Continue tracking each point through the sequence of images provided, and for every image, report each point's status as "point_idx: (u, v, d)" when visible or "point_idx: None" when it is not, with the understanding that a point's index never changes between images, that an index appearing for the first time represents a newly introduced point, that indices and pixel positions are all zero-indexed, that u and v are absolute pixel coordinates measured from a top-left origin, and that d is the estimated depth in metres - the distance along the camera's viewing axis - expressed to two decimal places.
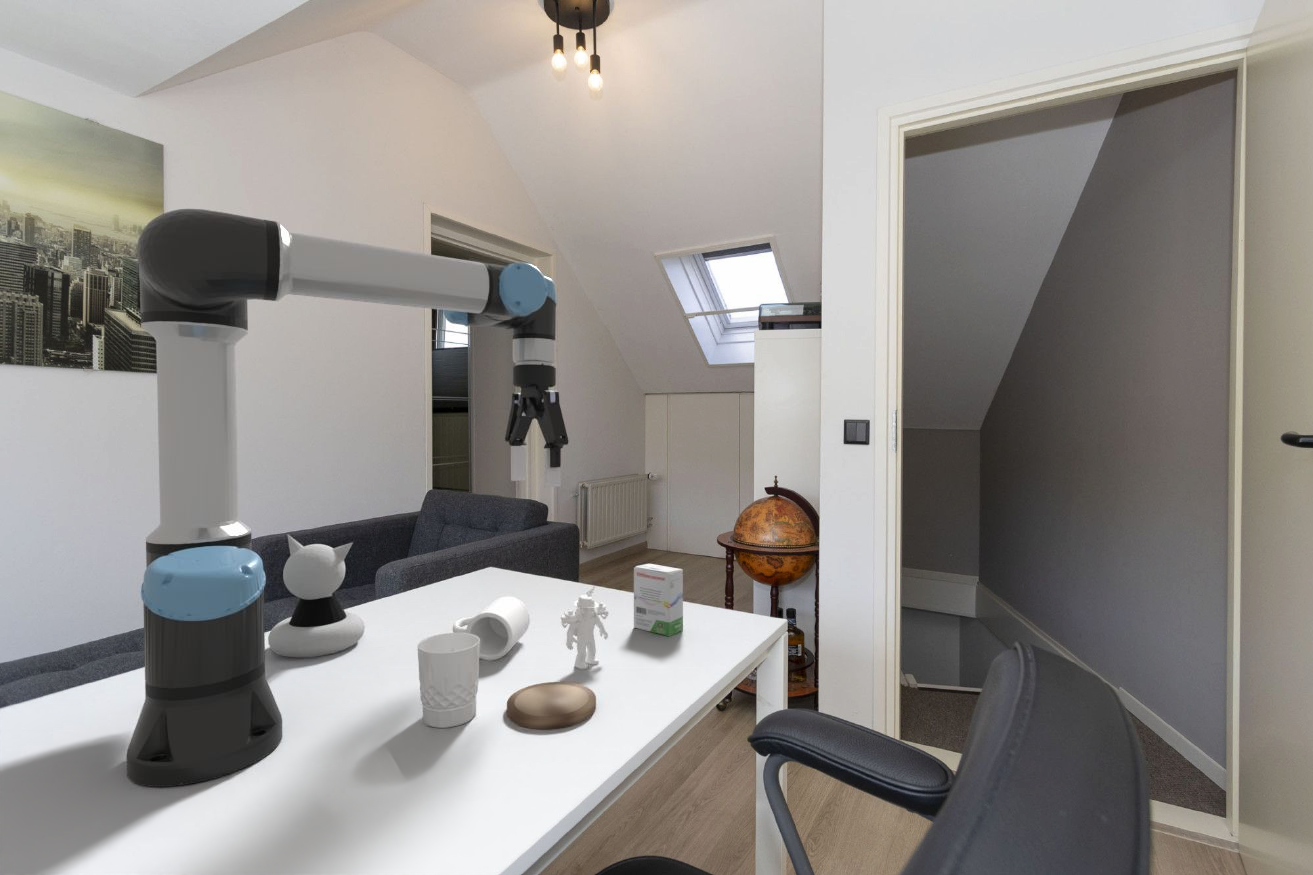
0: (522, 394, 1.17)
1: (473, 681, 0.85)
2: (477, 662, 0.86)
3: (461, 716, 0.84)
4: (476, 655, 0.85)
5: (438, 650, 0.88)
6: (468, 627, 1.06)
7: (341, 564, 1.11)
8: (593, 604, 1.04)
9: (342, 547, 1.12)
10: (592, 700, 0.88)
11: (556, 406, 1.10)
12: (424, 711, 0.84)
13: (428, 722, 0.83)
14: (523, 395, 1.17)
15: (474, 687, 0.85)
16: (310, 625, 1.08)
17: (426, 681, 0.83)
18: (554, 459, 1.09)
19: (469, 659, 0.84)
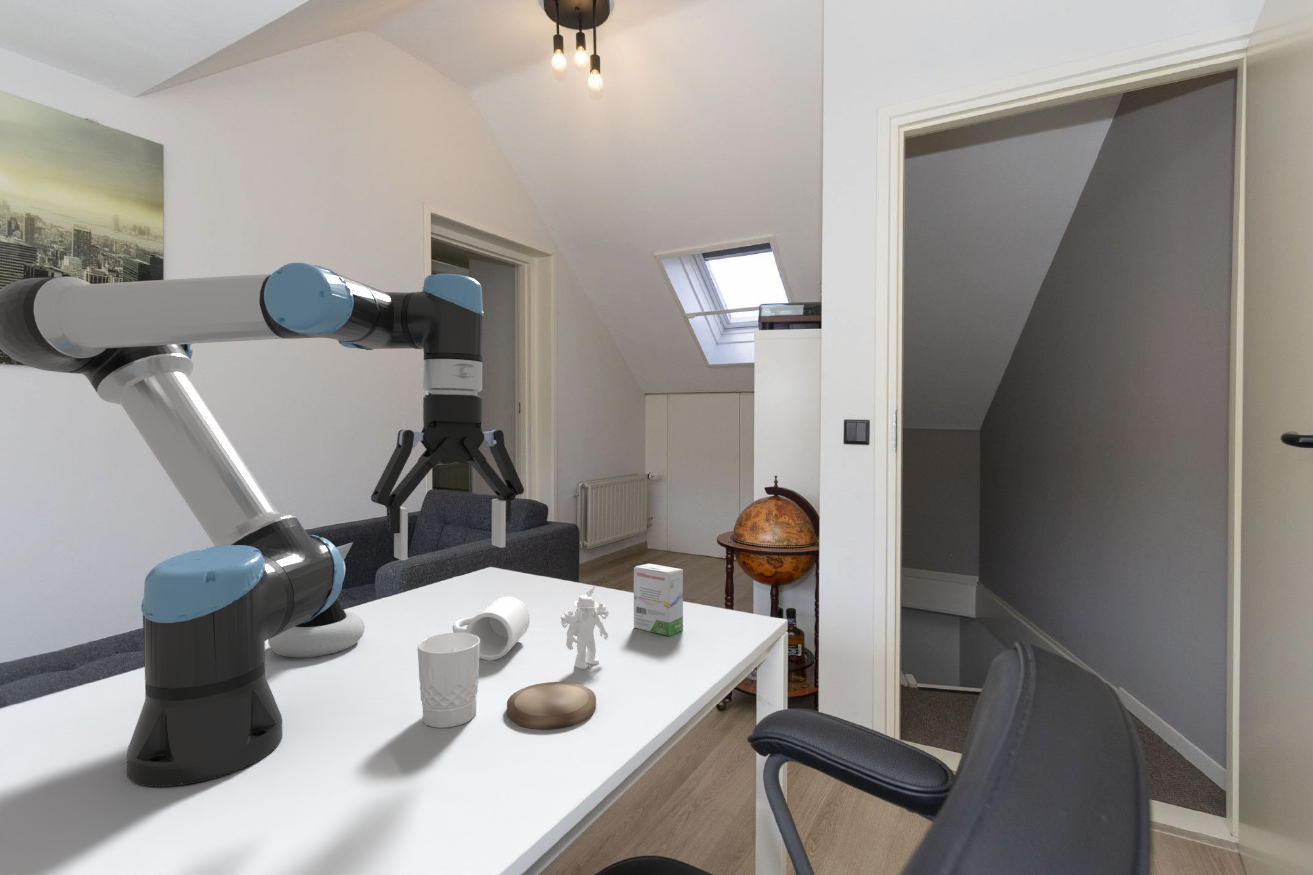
0: None
1: (473, 681, 0.85)
2: (477, 662, 0.86)
3: (461, 716, 0.84)
4: (476, 655, 0.85)
5: (438, 650, 0.88)
6: (468, 627, 1.06)
7: None
8: (593, 604, 1.04)
9: (342, 547, 1.12)
10: (592, 700, 0.88)
11: (398, 451, 0.82)
12: (424, 711, 0.84)
13: (428, 722, 0.83)
14: None
15: (474, 687, 0.85)
16: (310, 625, 1.08)
17: (426, 681, 0.83)
18: (387, 521, 0.82)
19: (469, 659, 0.84)
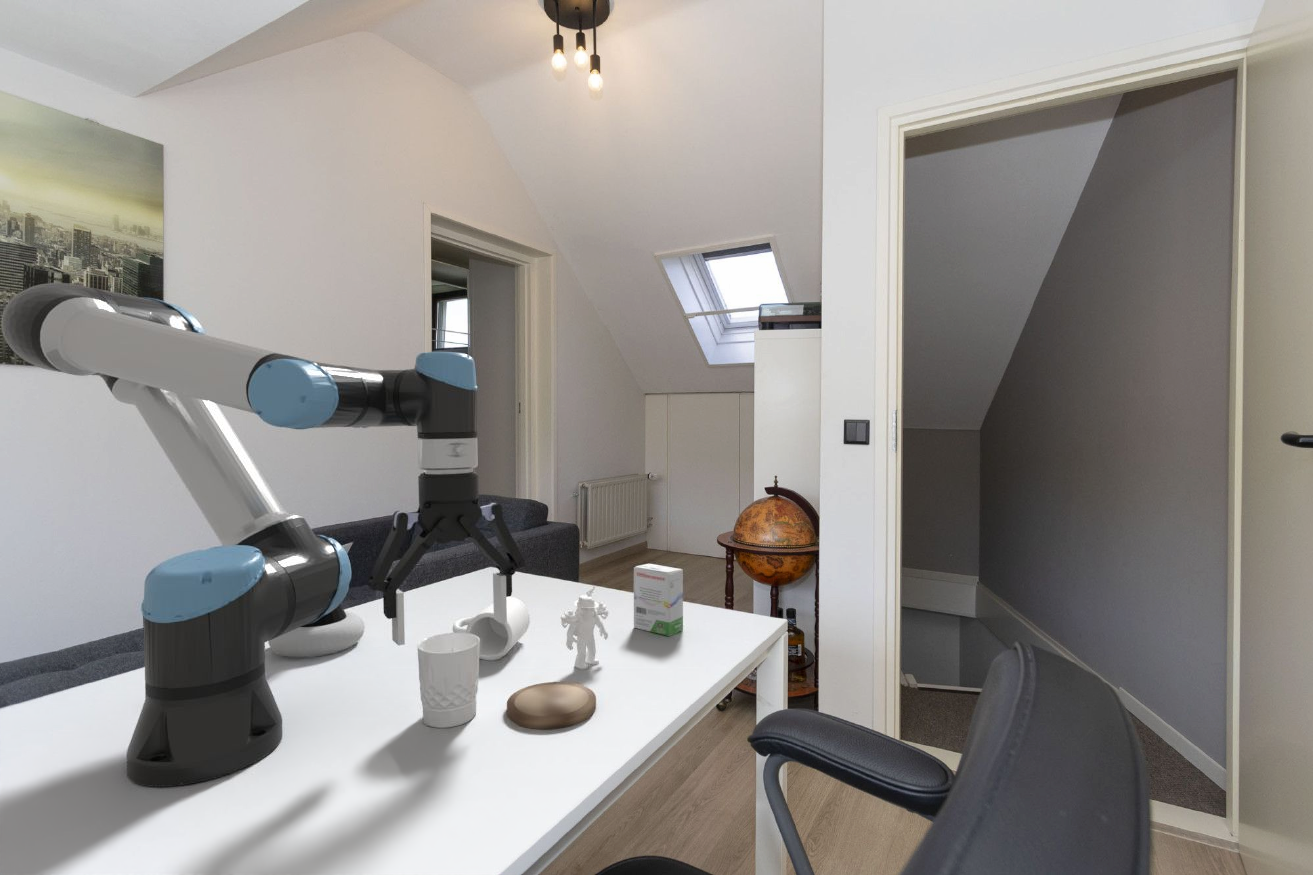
0: None
1: (473, 681, 0.85)
2: (477, 662, 0.86)
3: (461, 716, 0.84)
4: (476, 654, 0.85)
5: (438, 650, 0.88)
6: (468, 627, 1.06)
7: None
8: (593, 604, 1.04)
9: None
10: (592, 700, 0.88)
11: (393, 534, 0.81)
12: (424, 711, 0.84)
13: (428, 722, 0.83)
14: None
15: (474, 687, 0.85)
16: (310, 625, 1.08)
17: (426, 681, 0.83)
18: (384, 606, 0.81)
19: (469, 659, 0.84)
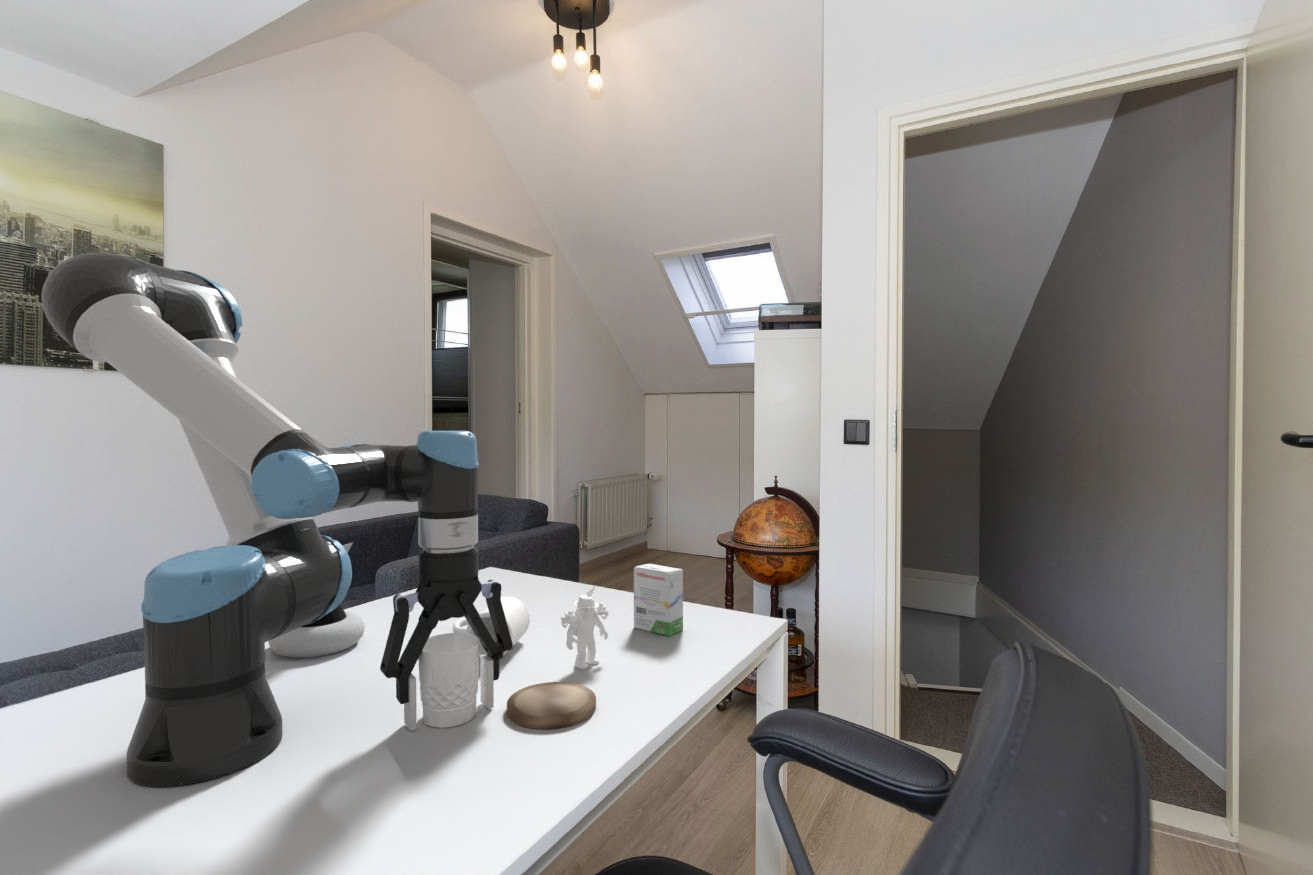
0: None
1: (473, 681, 0.85)
2: (477, 662, 0.86)
3: (461, 716, 0.84)
4: (476, 655, 0.85)
5: (438, 650, 0.88)
6: (468, 627, 1.06)
7: None
8: (593, 604, 1.04)
9: None
10: (592, 700, 0.88)
11: (396, 620, 0.81)
12: (424, 711, 0.84)
13: (428, 722, 0.83)
14: None
15: (474, 687, 0.85)
16: (310, 625, 1.08)
17: (426, 681, 0.83)
18: (396, 690, 0.82)
19: (469, 659, 0.84)
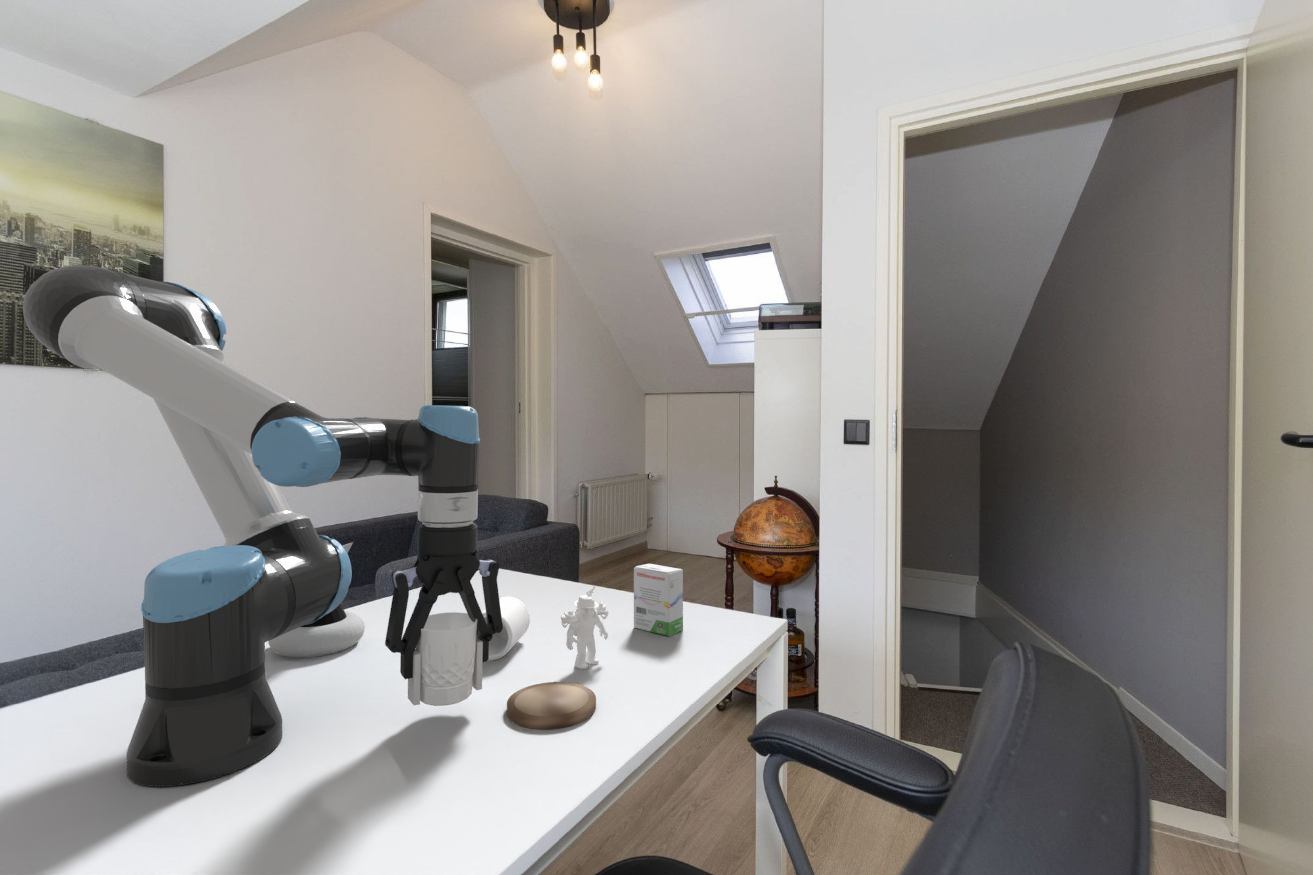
0: None
1: (469, 660, 0.85)
2: (474, 641, 0.86)
3: (457, 695, 0.84)
4: (473, 634, 0.85)
5: (435, 629, 0.89)
6: None
7: None
8: (593, 604, 1.04)
9: None
10: (592, 700, 0.88)
11: (397, 596, 0.81)
12: (420, 689, 0.84)
13: (424, 700, 0.83)
14: None
15: (471, 667, 0.85)
16: (310, 625, 1.08)
17: (423, 659, 0.83)
18: (401, 666, 0.83)
19: (466, 638, 0.84)
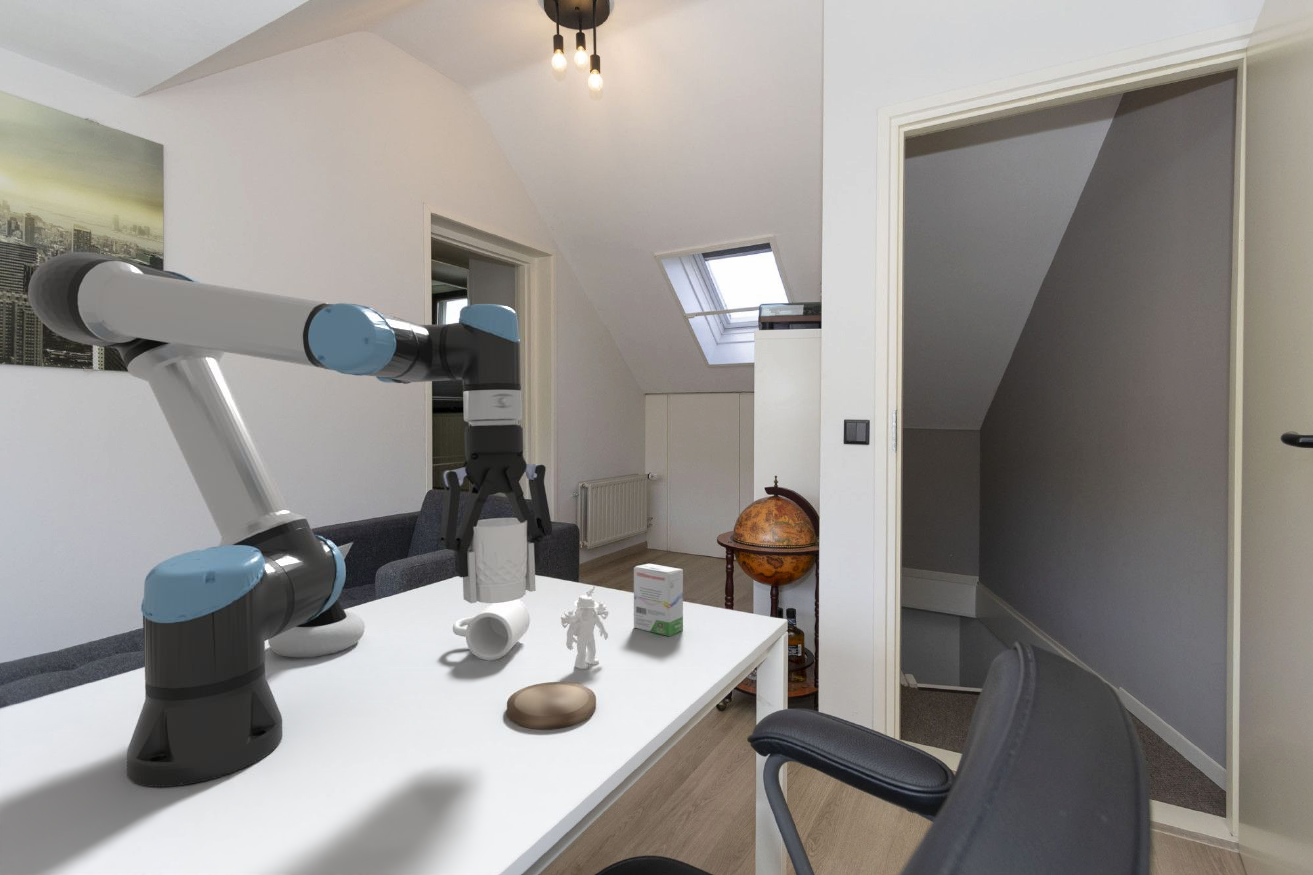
0: None
1: (522, 559, 0.85)
2: (525, 541, 0.86)
3: (512, 592, 0.84)
4: (524, 533, 0.86)
5: None
6: (468, 627, 1.06)
7: None
8: (593, 604, 1.04)
9: (342, 547, 1.12)
10: (592, 700, 0.88)
11: (448, 494, 0.82)
12: None
13: (480, 598, 0.84)
14: None
15: (524, 566, 0.86)
16: (310, 625, 1.08)
17: (476, 557, 0.83)
18: (455, 565, 0.83)
19: (518, 535, 0.84)
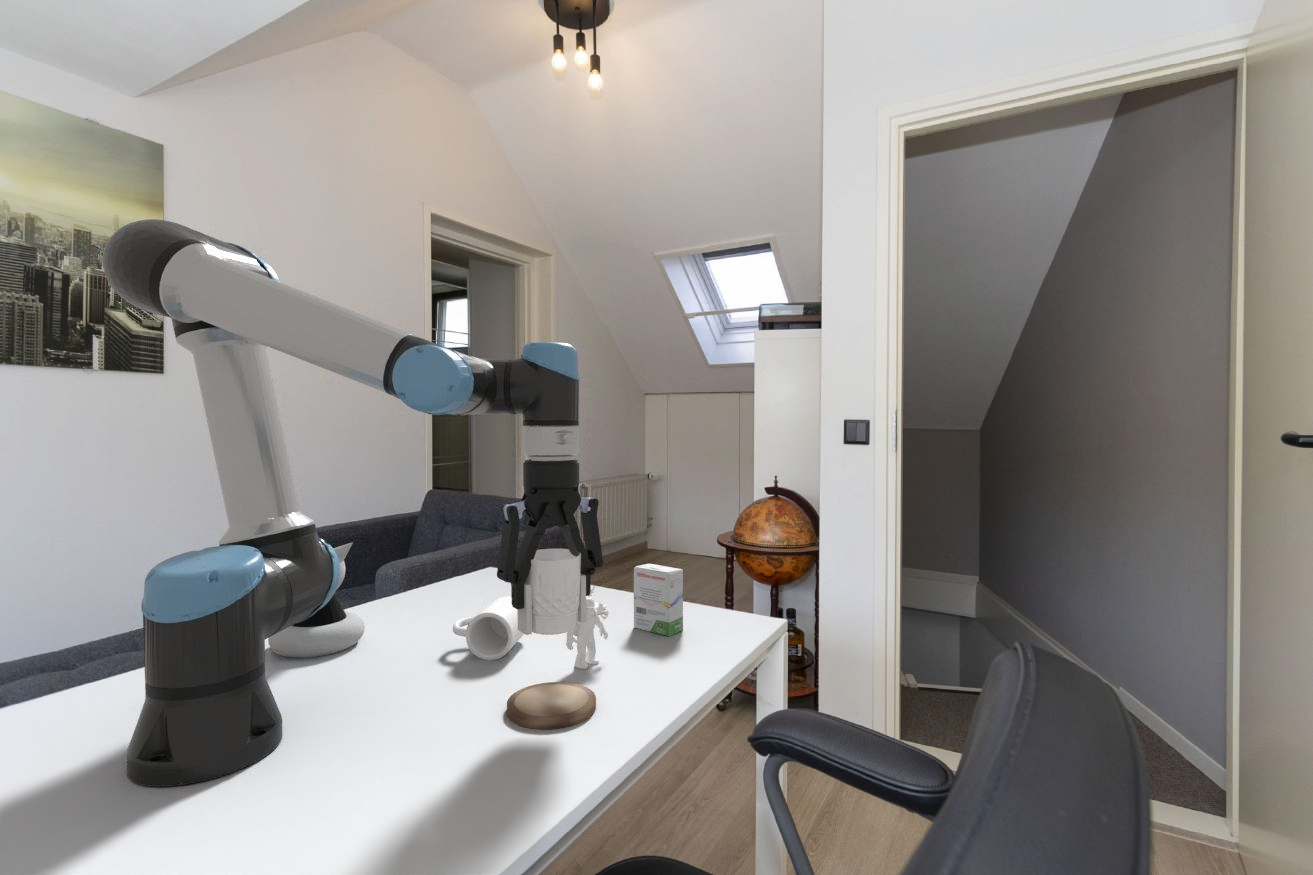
0: None
1: (577, 591, 0.87)
2: (579, 573, 0.88)
3: (566, 624, 0.86)
4: (579, 566, 0.87)
5: None
6: (468, 627, 1.06)
7: (341, 564, 1.11)
8: (593, 604, 1.04)
9: (342, 547, 1.12)
10: (592, 700, 0.88)
11: (508, 527, 0.83)
12: None
13: (535, 630, 0.85)
14: None
15: (577, 598, 0.87)
16: (310, 625, 1.08)
17: (533, 589, 0.85)
18: (512, 597, 0.85)
19: (574, 569, 0.86)
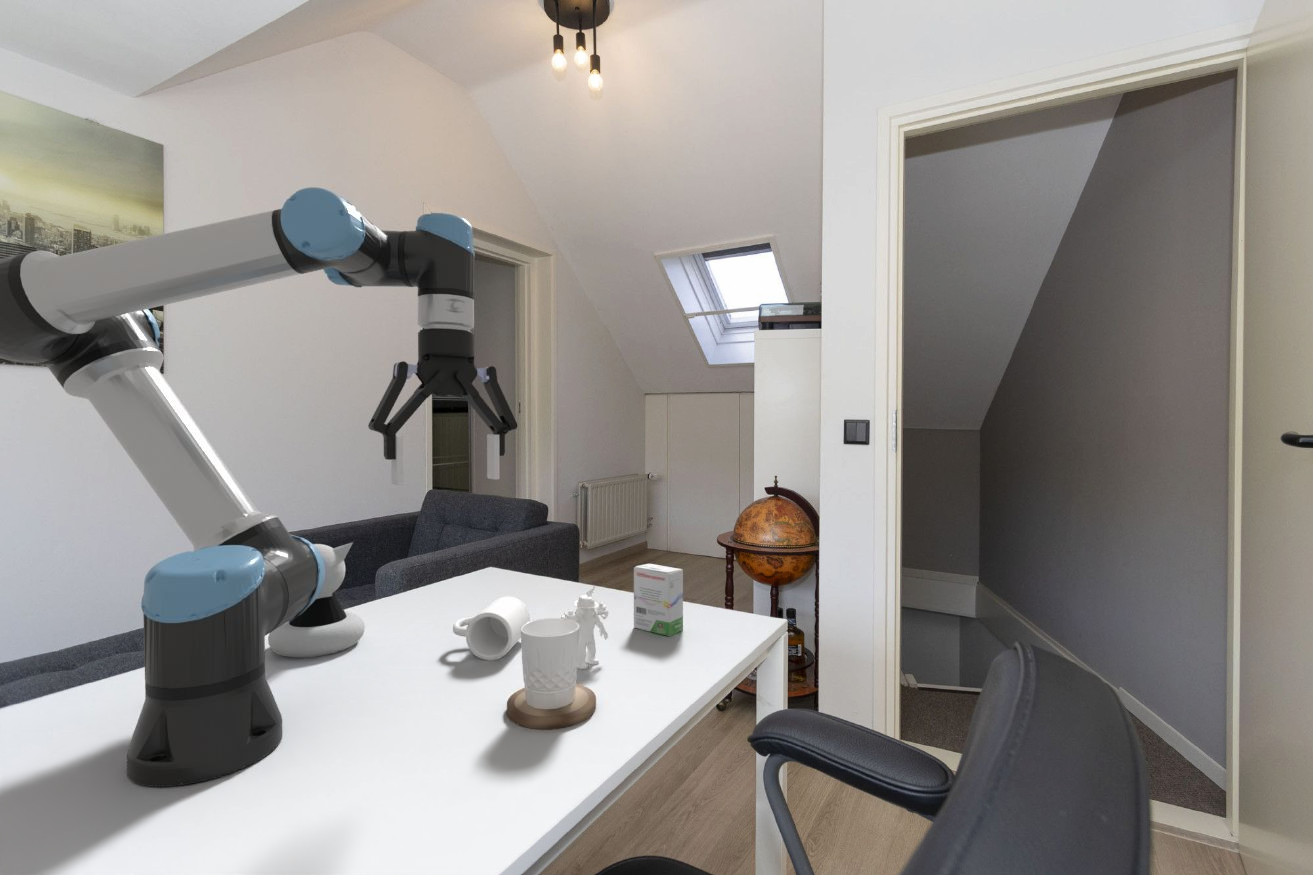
0: None
1: (575, 664, 0.87)
2: (577, 646, 0.88)
3: (564, 698, 0.86)
4: (577, 639, 0.88)
5: (537, 635, 0.91)
6: (468, 627, 1.06)
7: (341, 564, 1.11)
8: (593, 604, 1.04)
9: (342, 547, 1.12)
10: (592, 700, 0.88)
11: (393, 381, 0.86)
12: (528, 693, 0.86)
13: (533, 704, 0.86)
14: None
15: (575, 671, 0.88)
16: (310, 625, 1.08)
17: (531, 664, 0.85)
18: (384, 448, 0.86)
19: (572, 643, 0.86)
